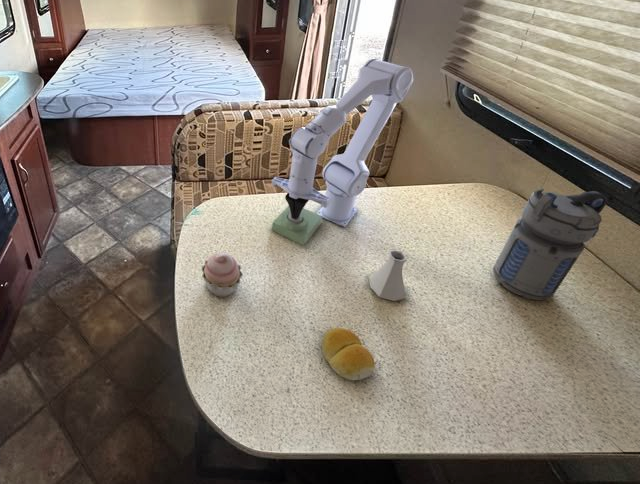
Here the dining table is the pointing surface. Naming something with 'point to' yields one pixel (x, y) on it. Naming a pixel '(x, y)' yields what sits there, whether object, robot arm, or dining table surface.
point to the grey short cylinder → (295, 219)
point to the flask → (390, 278)
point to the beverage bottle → (547, 242)
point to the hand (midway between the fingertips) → (295, 216)
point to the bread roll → (347, 354)
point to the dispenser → (297, 225)
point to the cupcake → (221, 274)
